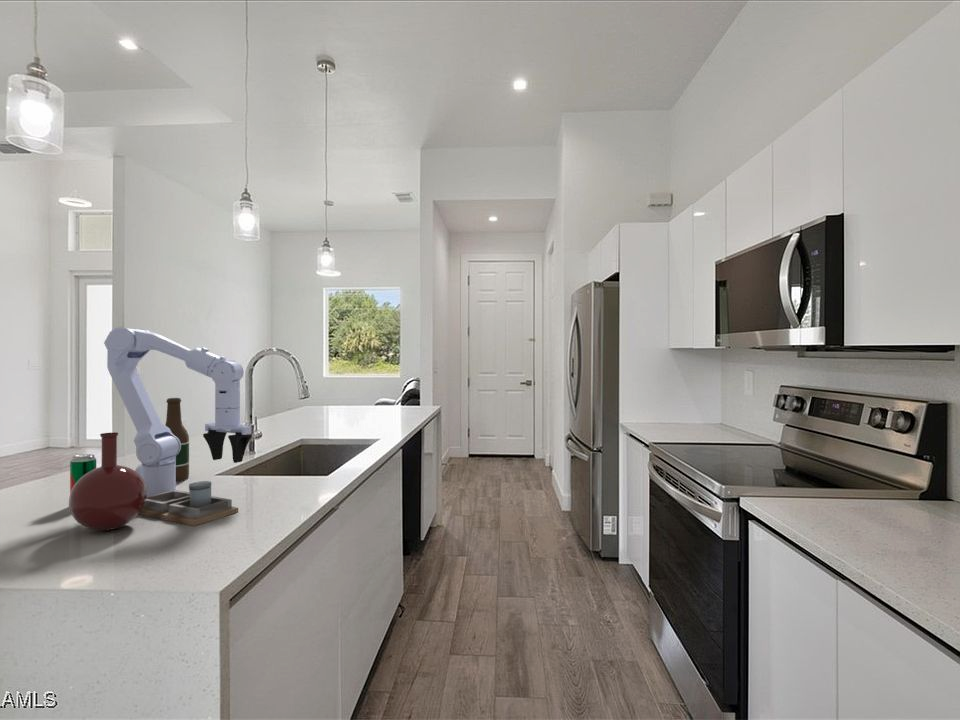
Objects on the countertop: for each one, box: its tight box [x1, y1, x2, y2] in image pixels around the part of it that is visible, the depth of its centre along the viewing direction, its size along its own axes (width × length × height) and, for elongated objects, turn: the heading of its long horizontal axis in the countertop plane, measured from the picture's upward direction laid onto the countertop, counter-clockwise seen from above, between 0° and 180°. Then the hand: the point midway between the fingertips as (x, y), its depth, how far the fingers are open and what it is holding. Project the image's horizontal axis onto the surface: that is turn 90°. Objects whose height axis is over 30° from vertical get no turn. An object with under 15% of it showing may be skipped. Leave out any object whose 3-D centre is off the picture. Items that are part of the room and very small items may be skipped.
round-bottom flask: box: [68, 432, 147, 532], centre depth 106 cm, size 13×13×20 cm
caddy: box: [138, 489, 239, 527], centre depth 118 cm, size 22×11×3 cm, turn 65°
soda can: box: [69, 453, 97, 494], centre depth 123 cm, size 5×5×12 cm
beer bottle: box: [164, 397, 190, 483], centre depth 148 cm, size 8×8×24 cm
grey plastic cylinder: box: [188, 480, 213, 508], centre depth 115 cm, size 4×4×6 cm
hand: (227, 460), depth 130 cm, fingers open, 7 cm apart
